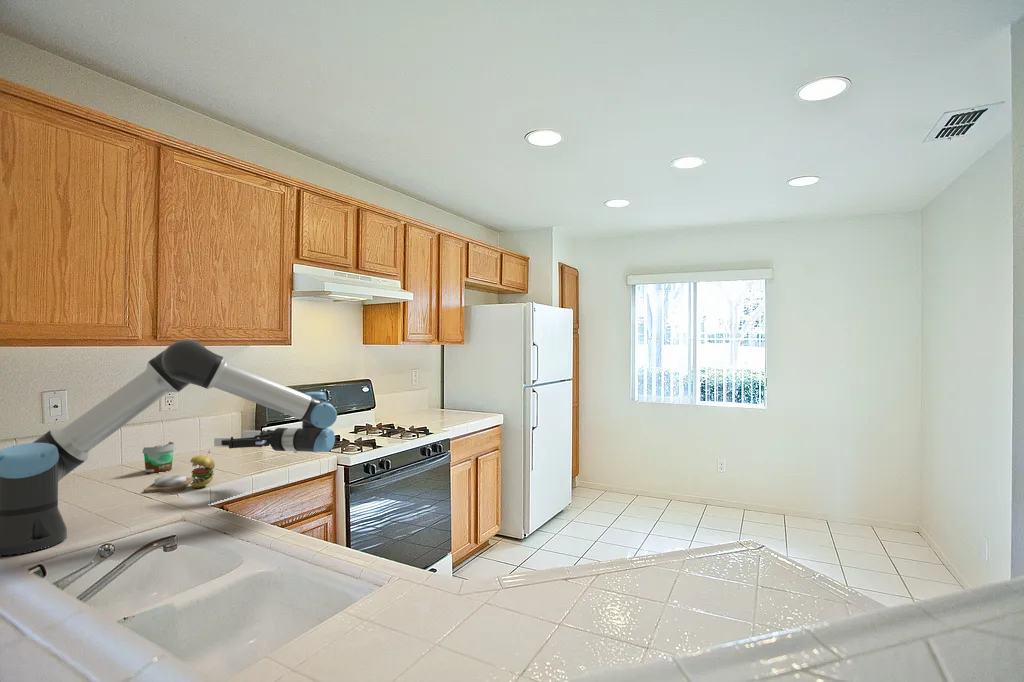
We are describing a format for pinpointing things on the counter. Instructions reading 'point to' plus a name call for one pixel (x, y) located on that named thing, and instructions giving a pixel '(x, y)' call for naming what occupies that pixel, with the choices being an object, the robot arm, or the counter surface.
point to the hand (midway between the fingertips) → (229, 437)
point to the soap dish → (169, 483)
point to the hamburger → (202, 470)
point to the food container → (158, 458)
